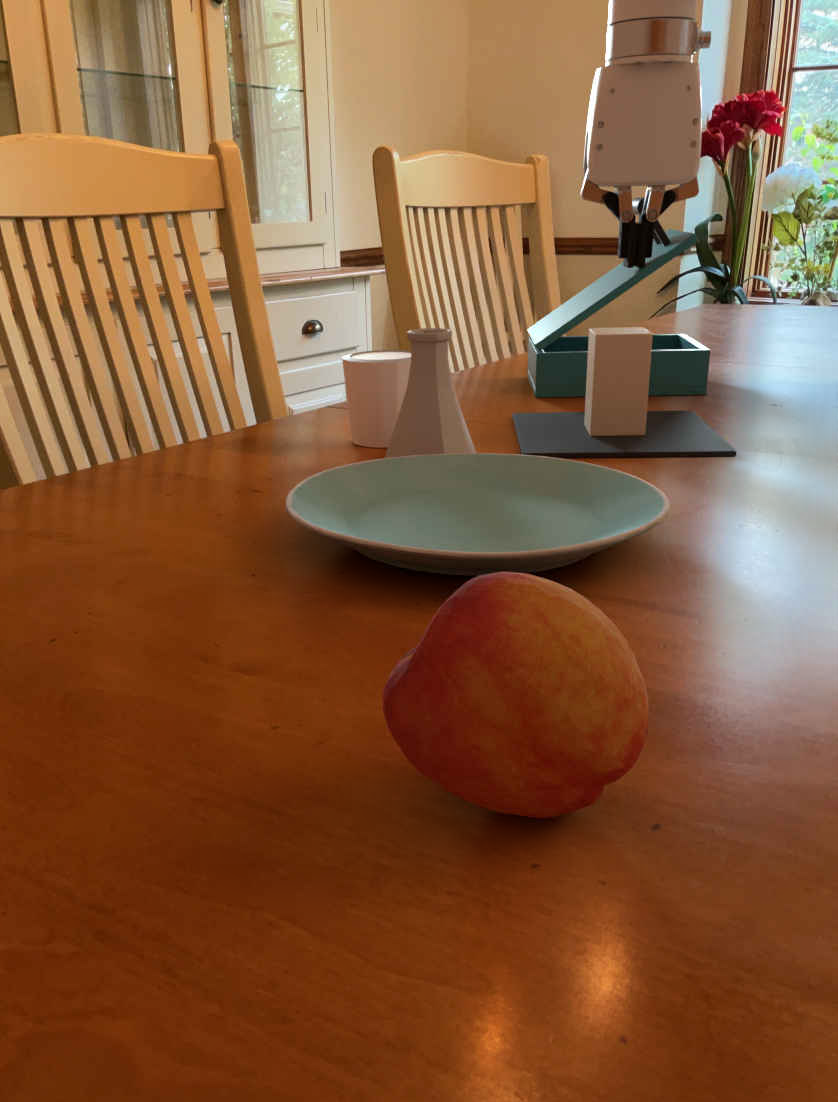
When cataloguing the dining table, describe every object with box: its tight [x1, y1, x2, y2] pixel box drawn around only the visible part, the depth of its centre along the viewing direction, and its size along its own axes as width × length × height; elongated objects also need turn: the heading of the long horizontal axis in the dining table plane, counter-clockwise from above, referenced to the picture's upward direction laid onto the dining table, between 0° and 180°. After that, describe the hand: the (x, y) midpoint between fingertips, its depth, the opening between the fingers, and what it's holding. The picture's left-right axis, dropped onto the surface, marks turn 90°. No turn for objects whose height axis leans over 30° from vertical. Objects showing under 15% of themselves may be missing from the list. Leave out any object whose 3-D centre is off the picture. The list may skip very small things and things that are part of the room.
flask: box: [384, 327, 477, 458], centre depth 76 cm, size 7×7×10 cm
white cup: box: [341, 349, 411, 449], centre depth 86 cm, size 7×7×7 cm
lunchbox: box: [526, 333, 711, 398], centre depth 108 cm, size 17×13×4 cm
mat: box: [512, 409, 737, 459], centre depth 87 cm, size 16×16×1 cm
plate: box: [284, 452, 671, 577], centre depth 62 cm, size 22×22×3 cm
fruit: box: [382, 572, 650, 819], centre depth 34 cm, size 8×8×8 cm
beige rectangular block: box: [584, 326, 654, 436], centre depth 85 cm, size 4×4×8 cm
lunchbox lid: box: [526, 196, 700, 351], centre depth 104 cm, size 17×13×6 cm
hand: (633, 266), depth 100 cm, fingers closed
